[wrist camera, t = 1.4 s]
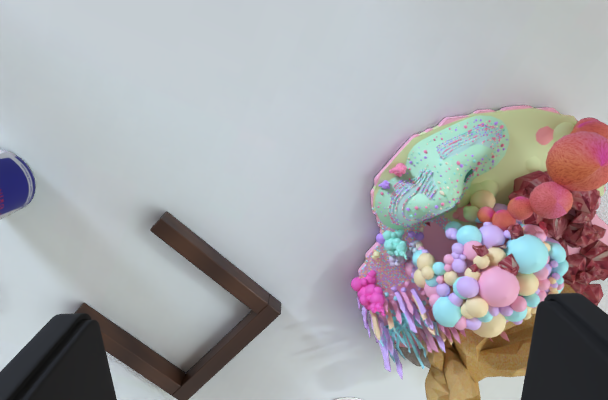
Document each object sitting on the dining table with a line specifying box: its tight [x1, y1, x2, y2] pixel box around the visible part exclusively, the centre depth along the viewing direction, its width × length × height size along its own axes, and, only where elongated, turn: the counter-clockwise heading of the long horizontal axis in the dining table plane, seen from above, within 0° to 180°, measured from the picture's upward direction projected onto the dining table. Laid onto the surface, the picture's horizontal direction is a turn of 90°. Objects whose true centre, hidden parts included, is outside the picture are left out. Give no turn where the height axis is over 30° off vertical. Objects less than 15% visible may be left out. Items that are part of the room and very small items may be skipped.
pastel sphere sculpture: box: [351, 105, 608, 400], centre depth 32 cm, size 25×24×9 cm
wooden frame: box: [74, 212, 281, 400], centre depth 37 cm, size 14×14×2 cm
